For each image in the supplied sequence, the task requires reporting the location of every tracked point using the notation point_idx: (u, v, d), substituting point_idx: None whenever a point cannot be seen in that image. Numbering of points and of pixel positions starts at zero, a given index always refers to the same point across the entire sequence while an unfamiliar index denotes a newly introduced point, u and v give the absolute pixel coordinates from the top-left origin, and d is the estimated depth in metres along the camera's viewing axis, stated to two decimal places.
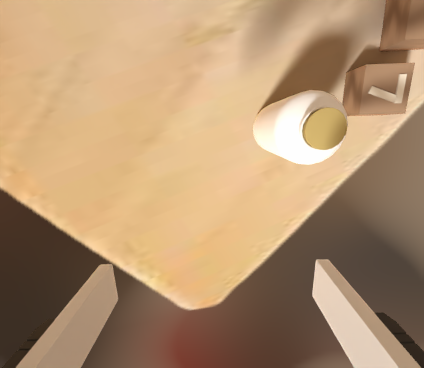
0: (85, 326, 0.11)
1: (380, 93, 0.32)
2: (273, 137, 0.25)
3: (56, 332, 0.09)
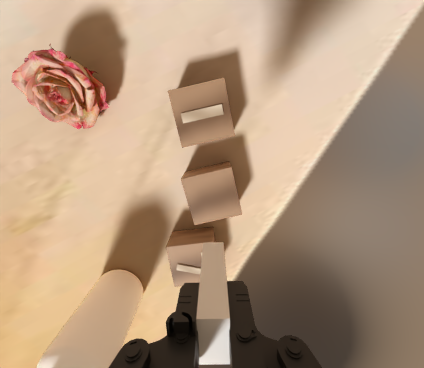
0: None
1: (189, 268, 0.33)
2: None
3: (209, 288, 0.11)
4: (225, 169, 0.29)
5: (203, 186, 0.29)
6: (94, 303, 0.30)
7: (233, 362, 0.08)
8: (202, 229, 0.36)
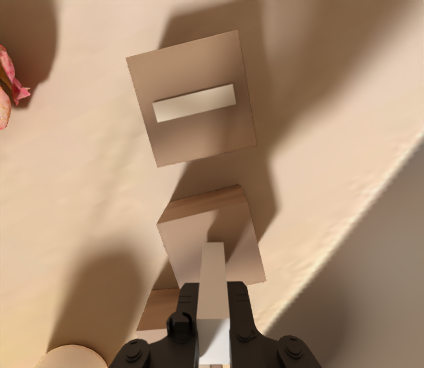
0: None
1: None
2: None
3: (209, 288, 0.11)
4: (236, 206, 0.16)
5: (196, 236, 0.16)
6: None
7: (233, 362, 0.08)
8: None
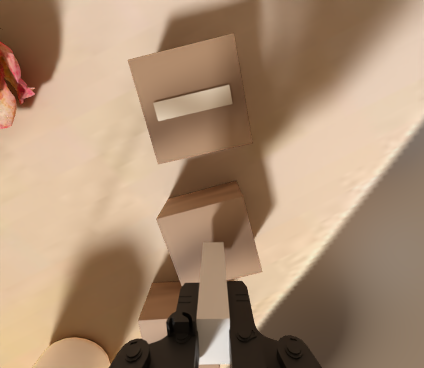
0: None
1: None
2: None
3: (209, 288, 0.11)
4: (232, 200, 0.16)
5: (194, 230, 0.17)
6: None
7: (233, 362, 0.08)
8: None
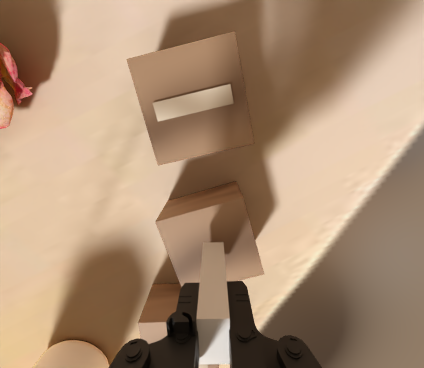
0: None
1: None
2: None
3: (209, 288, 0.11)
4: (232, 201, 0.16)
5: (194, 232, 0.17)
6: None
7: (233, 362, 0.08)
8: None
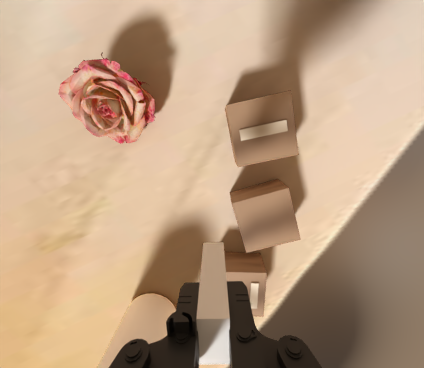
0: None
1: None
2: None
3: (209, 288, 0.11)
4: (281, 190, 0.26)
5: (256, 210, 0.26)
6: (132, 336, 0.27)
7: (233, 362, 0.08)
8: (248, 254, 0.33)
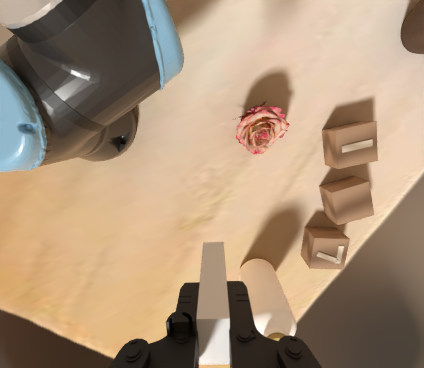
0: None
1: (325, 256, 0.44)
2: None
3: (209, 288, 0.11)
4: (364, 183, 0.40)
5: (346, 197, 0.41)
6: (264, 281, 0.42)
7: (233, 362, 0.08)
8: (329, 228, 0.47)
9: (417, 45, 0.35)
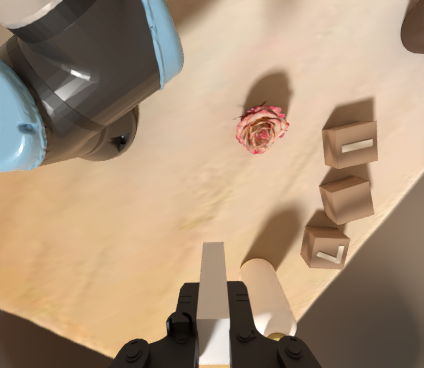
0: None
1: (325, 255, 0.44)
2: None
3: (209, 288, 0.11)
4: (364, 183, 0.40)
5: (346, 196, 0.41)
6: (264, 281, 0.42)
7: (233, 362, 0.08)
8: (329, 228, 0.47)
9: (417, 45, 0.35)
